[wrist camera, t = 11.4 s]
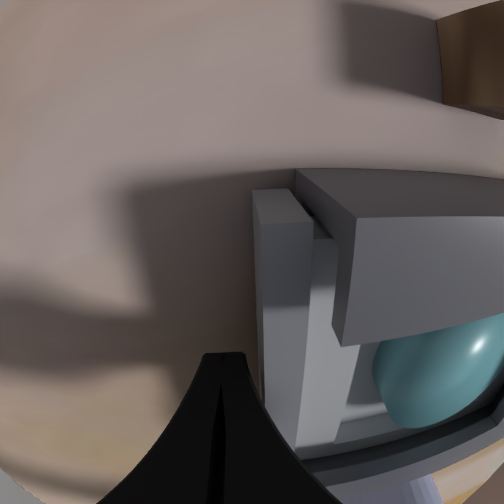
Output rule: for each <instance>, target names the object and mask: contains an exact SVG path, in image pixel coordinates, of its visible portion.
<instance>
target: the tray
mask: <svg viewBox="0 0 504 504" xmlns="http://www.w3.org/2000/svg"><path fill="white" fill-rule="evenodd" d="M252 210H253V235H254V260H255V286H256V312H257V338H258V364H259V391H260V398H261V400H262V402H263V404H264V406H265V408H266V410H267V412H268V413H269V415H270V417H271V419H272V420H273V422H274V423H275V425H276V427H277V428H278V430H279V431H280V433H281V435H282V436H283V437H284V439H285V440H286V442H287V443H288V445H289V446H290V447H291V449H292V450H293V451H294V453H295V454H296V455H297V456H298V458H299V459H300V460H305V459H312V458H318V457H324V456H330V455H335V454H341V453H346V452H350V451H355V450H359V449H364V448H368V447H372V446H376V445H380V444H384V443H387V442H391V441H394V440H398V439H401V438H404V437H408V436H411V435H414V434H417V433H420V432H423V431H426V430H429V429H431V428H434V427H437V426H440V425H442V424H445V423H447V422H450V421H453V420H455V419H457V418H460V417H462V416H465V415H467V414H469V413H471V412H474V411H476V410H478V409H480V408H482V407H485V406H487V405H489V404H491V403H492V401H493V400H494V398H495V397H496V395H497V394H498V392H499V390H500V389H501V387H502V385H503V384H504V367H503V368H502V370H501V371H500V373H499V374H498V375H497V377H496V378H495V379H494V380H493V382H492V383H491V384H490V385H489V386H488V387H487V388H486V389H485V390H484V391H483V392H482V393H481V394H480V395H479V396H478V397H477V398H476V399H475V400H473V401H472V402H471V403H470V404H468V405H467V406H466V407H464V408H463V409H462V410H460V411H458V412H457V413H455V414H454V415H452V416H450V417H448V418H446V419H444V420H442V421H440V422H437V423H435V424H432V425H428V426H425V427H420V428H404V427H400V426H398V425H396V424H395V423H394V422H393V421H392V419H391V418H390V416H389V413H388V411H387V409H386V407H385V404H384V402H383V400H382V398H381V396H380V394H379V391H378V389H377V387H376V385H375V383H374V380H373V377H372V365H373V360H374V356H375V353H376V351H377V348H378V346H379V344H380V343H381V341H379V342H373V343H367V344H361V345H354V346H347V347H341V346H340V344H339V342H338V339H337V337H336V335H335V332H334V330H333V328H332V326H331V322H332V314H333V305H334V296H335V286H336V276H337V265H338V253H339V244H338V243H337V241H336V240H335V239H334V238H333V237H332V235H331V234H330V233H329V232H328V230H327V229H326V228H325V227H324V226H323V224H322V223H321V222H320V221H319V219H318V218H317V217H316V216H314V217H310V216H309V215H308V214H307V212H306V211H305V210H304V208H303V207H302V206H301V205H300V203H299V202H298V201H297V200H296V198H295V197H294V196H293V195H292V193H291V192H290V191H289V190H288V188H286V189H260V190H252Z"/></svg>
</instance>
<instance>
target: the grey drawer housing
mask: <svg viewBox="0 0 504 504" xmlns="http://www.w3.org/2000/svg"><path fill="white" fill-rule="evenodd" d="M295 198H296V200H297V201H298V202H299V203H300V205H301V206H302V207H303V208H304V210H305V211H306V212H307V214H308V215H309V216H310V217H314V216H316V217H317V218H318V219H319V221H320V222H321V223H322V224H323V226H324V227H325V228H326V229H327V230H328V232H329V233H330V234H331V235H332V237H333V238H334V239H335V240H336V241H337V243H338V244H339V253H338V265H337V276H336V286H335V296H334V305H333V314H332V322H331V326H332V328H333V330H334V332H335V335H336V337H337V339H338V342H339V344H340V346H341V347H347V346H354V345H361V344H367V343H373V342H379V341H385V340H391V339H396V338H401V337H407V336H412V335H417V334H422V333H426V332H431V331H435V330H440V329H444V328H449V327H453V326H457V325H461V324H465V323H469V322H473V321H476V320H480V319H484V318H487V317H491V316H494V315H498V314H501V313H504V180H503V179H495V178H487V177H478V176H469V175H459V174H449V173H437V172H423V171H407V170H386V169H352V168H297V169H295ZM503 437H504V384H503V385H502V387H501V389H500V390H499V392H498V394H497V395H496V397H495V398H494V400H493V401H492V403H491V404H489V405H487V406H485V407H482V408H480V409H478V410H476V411H474V412H471V413H469V414H467V415H465V416H462V417H460V418H457V419H455V420H453V421H450V422H447V423H445V424H442V425H440V426H437V427H434V428H431V429H429V430H426V431H423V432H420V433H417V434H414V435H411V436H408V437H404V438H401V439H398V440H394V441H391V442H387V443H384V444H380V445H376V446H372V447H368V448H364V449H359V450H355V451H350V452H346V453H341V454H335V455H330V456H324V457H318V458H312V459H305V460H301V461H302V463H303V464H304V465H305V466H306V467H307V468H308V470H309V471H310V472H311V473H312V474H313V475H314V476H315V477H316V478H317V479H318V480H319V481H320V482H321V483H322V484H323V485H324V486H325V487H326V489H327V490H328V491H329V492H331V493H332V494H333V495H334V496H335V497H336V498H337V499H338V500H339V501H344V500H349V499H353V498H357V497H361V496H365V495H369V494H372V493H376V492H379V491H383V490H386V489H389V488H392V487H395V486H398V485H401V484H404V483H407V482H410V481H413V480H416V479H418V478H421V477H423V476H426V475H429V474H431V473H433V472H436V471H438V470H441V469H443V468H445V467H448V466H450V465H452V464H454V463H456V462H458V461H460V460H463V459H465V458H467V457H469V456H471V455H473V454H475V453H476V452H478V451H480V450H482V449H484V448H486V447H488V446H489V445H491V444H493V443H495V442H496V441H498V440H500V439H502V438H503Z"/></svg>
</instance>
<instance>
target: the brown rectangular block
mask: <svg viewBox="0 0 504 504" xmlns="http://www.w3.org/2000/svg"><path fill="white" fill-rule="evenodd" d="M436 22H437V29H438V37H439V45H440V55H441V67H442V83H443V104H445V105H449V106H454V107H458V108H462V109H466V110H469V111H473V112H477V113H480V114H484V115H487V116H491V117H494V118H497V119H500V120H504V0H500V1H496V2H492V3H488V4H485V5H481V6H478V7H474V8H471V9H468V10H464V11H461V12H458V13H455V14H452V15H449V16H446V17H443V18H441V19H438V20H436Z"/></svg>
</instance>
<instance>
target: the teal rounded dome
mask: <svg viewBox="0 0 504 504" xmlns="http://www.w3.org/2000/svg"><path fill="white" fill-rule="evenodd" d="M503 367H504V313H501V314H498V315H494V316H491V317H487V318H484V319H480V320H476V321H473V322H469V323H465V324H461V325H457V326H453V327H449V328H444V329H440V330H435V331H431V332H426V333H422V334H417V335H412V336H407V337H401V338H396V339H391V340H385V341H381V343H380V344H379V346H378V348H377V351H376V353H375V356H374V360H373V365H372V377H373V380H374V383H375V385H376V387H377V389H378V391H379V394H380V396H381V398H382V400H383V402H384V404H385V407H386V409H387V411H388V413H389V416H390V418H391V419H392V421H393V422H394V423H395V424H396V425H398V426H400V427H404V428H420V427H425V426H428V425H432V424H435V423H437V422H440V421H442V420H444V419H446V418H448V417H450V416H452V415H454V414H455V413H457V412H458V411H460V410H462V409H463V408H464V407H466V406H467V405H468V404H470V403H471V402H472V401H473V400H475V399H476V398H477V397H478V396H479V395H480V394H481V393H482V392H483V391H484V390H485V389H486V388H487V387H488V386H489V385H490V384H491V383H492V382H493V380H494V379H495V378H496V377H497V375H498V374H499V373H500V371H501V370H502V368H503Z"/></svg>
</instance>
